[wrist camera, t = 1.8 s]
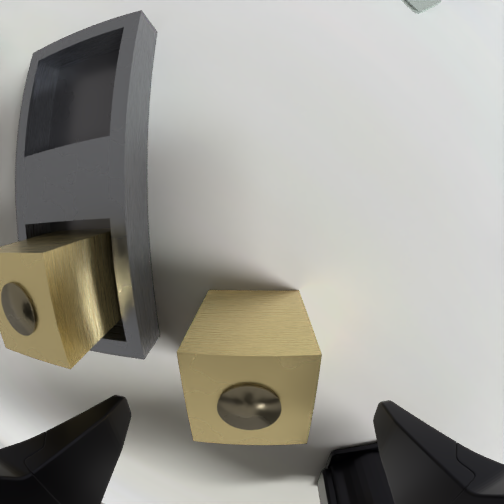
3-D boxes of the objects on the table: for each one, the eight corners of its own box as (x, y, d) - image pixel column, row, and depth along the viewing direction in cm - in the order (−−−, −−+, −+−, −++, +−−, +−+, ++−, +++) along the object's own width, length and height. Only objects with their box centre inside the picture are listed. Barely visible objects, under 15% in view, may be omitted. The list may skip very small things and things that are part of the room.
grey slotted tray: (157, 31, 11) (141, 10, 9) (159, 336, 15) (144, 359, 12) (55, 64, 11) (33, 53, 9) (60, 322, 15) (39, 338, 13)
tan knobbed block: (298, 290, 14) (322, 357, 8) (293, 364, 15) (307, 446, 9) (209, 289, 14) (175, 354, 8) (214, 363, 15) (192, 443, 9)
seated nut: (120, 227, 13) (40, 253, 7) (129, 310, 14) (68, 371, 8) (58, 230, 13) (-20, 253, 7) (69, 303, 14) (4, 349, 8)
